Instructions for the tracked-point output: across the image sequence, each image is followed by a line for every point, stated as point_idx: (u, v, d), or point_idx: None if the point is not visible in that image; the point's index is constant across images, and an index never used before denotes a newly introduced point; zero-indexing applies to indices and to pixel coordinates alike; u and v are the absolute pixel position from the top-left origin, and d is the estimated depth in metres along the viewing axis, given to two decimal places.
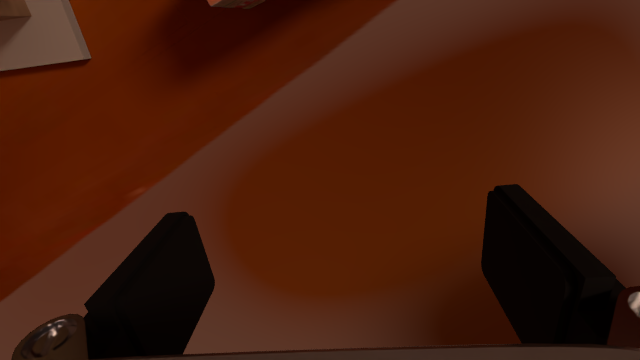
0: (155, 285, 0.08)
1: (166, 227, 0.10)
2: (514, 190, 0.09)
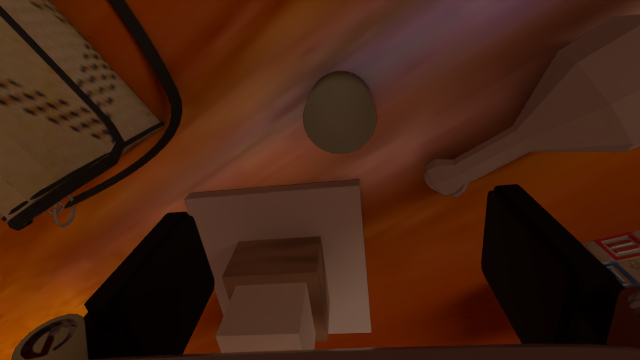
0: (155, 285, 0.08)
1: (166, 227, 0.10)
2: (513, 190, 0.09)
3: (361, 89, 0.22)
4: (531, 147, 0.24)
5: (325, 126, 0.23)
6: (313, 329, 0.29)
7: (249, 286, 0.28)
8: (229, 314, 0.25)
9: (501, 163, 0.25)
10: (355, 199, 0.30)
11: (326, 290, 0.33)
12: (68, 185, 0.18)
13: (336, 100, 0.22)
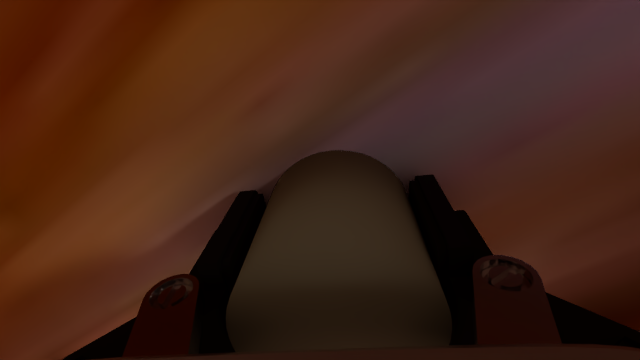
0: (245, 253, 0.09)
1: (244, 203, 0.10)
2: (426, 180, 0.10)
3: (408, 264, 0.07)
4: None
5: (293, 348, 0.08)
6: None
7: None
8: None
9: None
10: None
11: None
12: None
13: (326, 290, 0.07)
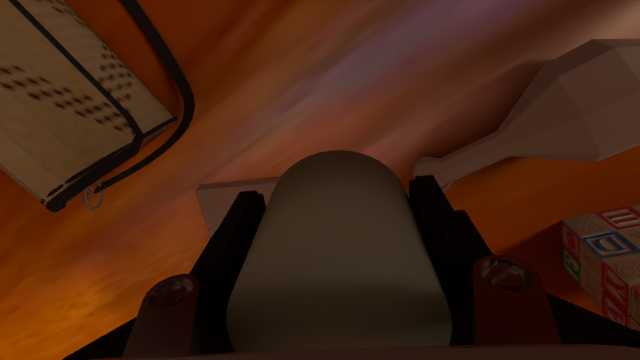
0: (245, 253, 0.09)
1: (244, 203, 0.10)
2: (426, 180, 0.10)
3: (408, 264, 0.07)
4: (512, 151, 0.26)
5: (293, 348, 0.08)
6: None
7: None
8: None
9: (484, 164, 0.27)
10: None
11: None
12: (97, 171, 0.19)
13: (326, 289, 0.07)
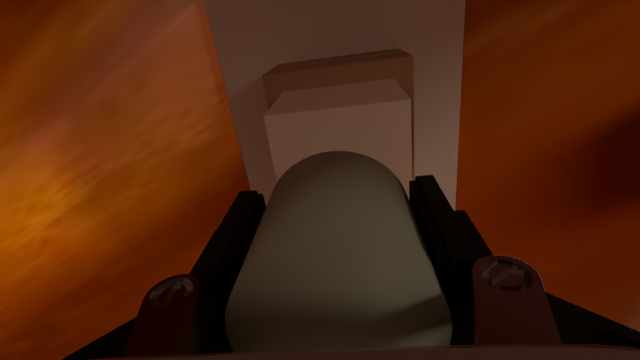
0: (245, 253, 0.09)
1: (244, 203, 0.10)
2: (426, 179, 0.10)
3: (407, 265, 0.07)
4: None
5: None
6: None
7: (304, 90, 0.18)
8: (281, 104, 0.16)
9: None
10: None
11: None
12: None
13: (326, 291, 0.07)
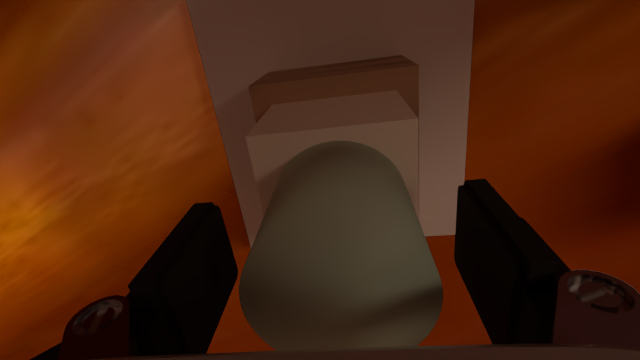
0: (189, 270, 0.09)
1: (195, 216, 0.10)
2: (480, 184, 0.09)
3: (403, 237, 0.07)
4: None
5: (300, 316, 0.09)
6: None
7: (296, 102, 0.16)
8: (267, 120, 0.14)
9: None
10: None
11: None
12: None
13: (329, 261, 0.08)
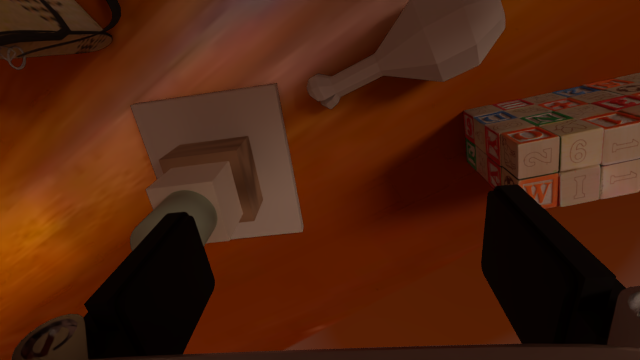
0: (155, 285, 0.08)
1: (166, 227, 0.10)
2: (514, 190, 0.09)
3: None
4: (382, 68, 0.31)
5: None
6: (239, 207, 0.35)
7: (181, 167, 0.33)
8: (160, 180, 0.31)
9: (361, 80, 0.32)
10: (273, 98, 0.35)
11: (256, 185, 0.38)
12: (17, 36, 0.23)
13: None
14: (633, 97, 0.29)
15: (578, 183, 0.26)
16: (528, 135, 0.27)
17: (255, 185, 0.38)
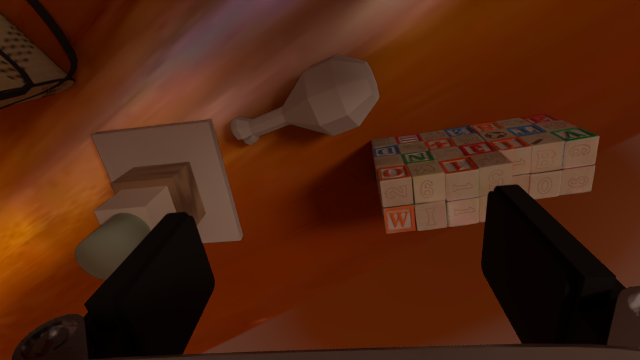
0: (155, 285, 0.08)
1: (166, 227, 0.10)
2: (514, 190, 0.09)
3: (108, 244, 0.32)
4: (286, 119, 0.38)
5: (92, 264, 0.33)
6: None
7: (129, 189, 0.41)
8: (108, 202, 0.38)
9: (272, 126, 0.40)
10: (207, 132, 0.43)
11: (197, 202, 0.46)
12: None
13: (94, 249, 0.32)
14: (488, 144, 0.35)
15: (429, 214, 0.33)
16: (394, 173, 0.33)
17: (195, 202, 0.45)
